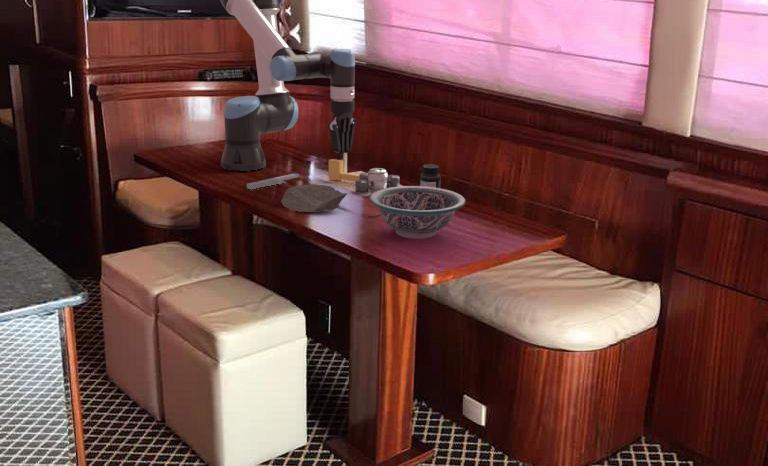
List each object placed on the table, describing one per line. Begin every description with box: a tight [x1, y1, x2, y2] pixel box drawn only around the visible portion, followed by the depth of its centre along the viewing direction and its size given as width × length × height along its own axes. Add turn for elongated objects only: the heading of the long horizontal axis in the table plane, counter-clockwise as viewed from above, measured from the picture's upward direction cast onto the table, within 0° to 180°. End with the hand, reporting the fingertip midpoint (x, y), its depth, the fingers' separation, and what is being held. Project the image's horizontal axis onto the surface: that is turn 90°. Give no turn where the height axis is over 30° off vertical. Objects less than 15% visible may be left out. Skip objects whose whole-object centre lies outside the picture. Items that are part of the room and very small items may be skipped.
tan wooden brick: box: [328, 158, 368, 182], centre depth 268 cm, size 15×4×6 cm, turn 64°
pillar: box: [246, 172, 300, 191], centre depth 268 cm, size 2×2×20 cm
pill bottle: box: [419, 164, 442, 188], centre depth 251 cm, size 6×6×11 cm
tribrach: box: [317, 167, 403, 197], centre depth 267 cm, size 26×17×7 cm, turn 37°
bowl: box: [369, 185, 466, 240], centre depth 222 cm, size 25×25×10 cm
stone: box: [280, 183, 348, 213], centre depth 245 cm, size 20×4×15 cm
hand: (342, 172), depth 274 cm, fingers closed
